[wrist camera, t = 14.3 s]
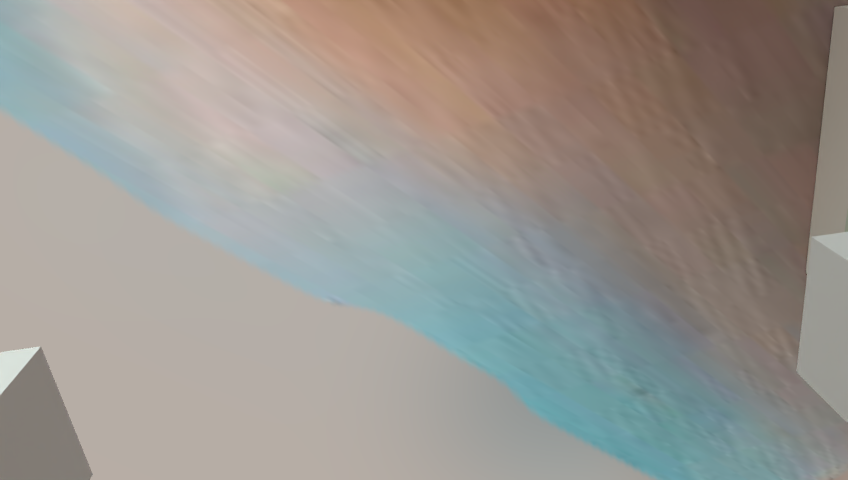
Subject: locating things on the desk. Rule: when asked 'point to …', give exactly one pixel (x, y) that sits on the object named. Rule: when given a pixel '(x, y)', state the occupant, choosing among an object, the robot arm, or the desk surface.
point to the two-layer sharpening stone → (833, 139)
